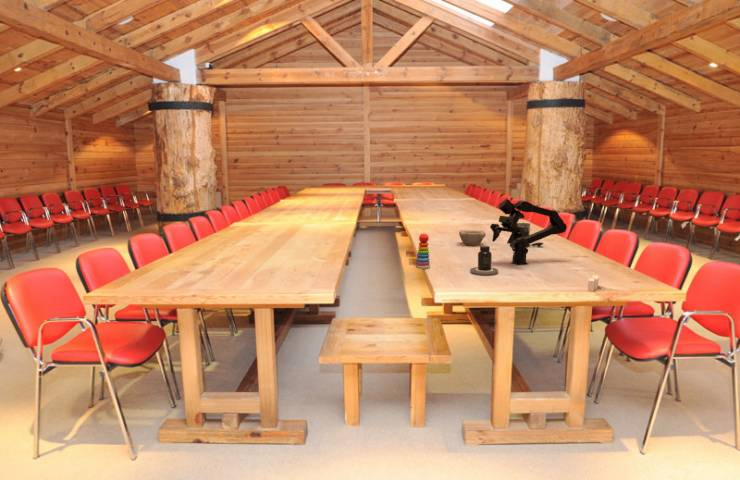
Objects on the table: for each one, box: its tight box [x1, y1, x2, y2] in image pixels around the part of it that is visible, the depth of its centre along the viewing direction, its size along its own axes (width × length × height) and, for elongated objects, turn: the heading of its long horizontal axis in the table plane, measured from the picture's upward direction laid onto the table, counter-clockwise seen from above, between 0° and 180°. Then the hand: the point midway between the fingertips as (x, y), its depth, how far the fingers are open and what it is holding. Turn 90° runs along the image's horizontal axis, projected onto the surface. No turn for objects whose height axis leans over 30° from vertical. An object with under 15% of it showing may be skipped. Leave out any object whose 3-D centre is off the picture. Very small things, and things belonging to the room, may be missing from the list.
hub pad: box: [469, 266, 499, 277], centre depth 280 cm, size 14×14×2 cm
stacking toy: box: [414, 232, 431, 270], centre depth 291 cm, size 8×8×19 cm
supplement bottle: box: [477, 245, 493, 271], centre depth 279 cm, size 7×7×12 cm
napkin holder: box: [587, 275, 600, 293], centre depth 247 cm, size 15×11×6 cm
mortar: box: [458, 229, 487, 247], centre depth 360 cm, size 17×17×9 cm
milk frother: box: [517, 222, 544, 248], centre depth 353 cm, size 14×16×15 cm
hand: (500, 242), depth 290 cm, fingers open, 9 cm apart
